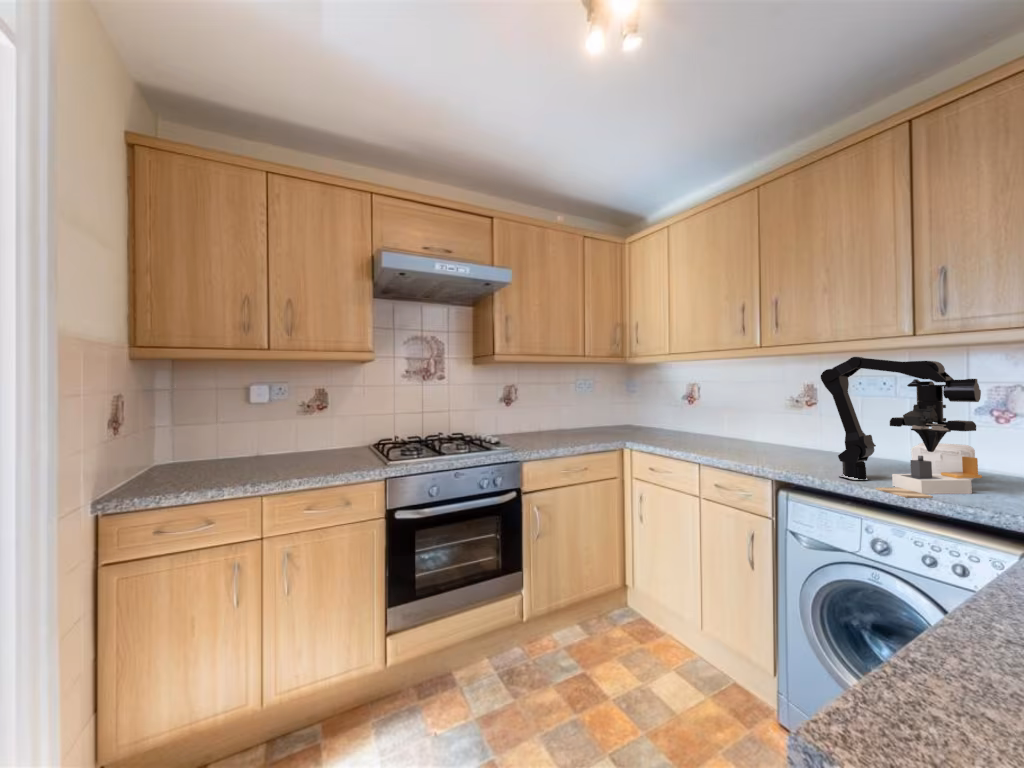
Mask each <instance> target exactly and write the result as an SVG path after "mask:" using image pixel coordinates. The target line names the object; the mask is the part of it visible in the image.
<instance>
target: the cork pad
mask: <svg viewBox="0 0 1024 768" xmlns="http://www.w3.org/2000/svg"><path fill="white" fill-rule="evenodd" d="M875 490H877V491H881V492H885V493H887V494H891V495H894V496H900V497H902V498H905V499H929V498H930V499H933V495H932V494H923V493H919V492H915V491H911V490H907V489H903V488H899V487H893V486H892V487H875Z"/></svg>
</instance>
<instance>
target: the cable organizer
mask: <svg viewBox="0 0 1024 768" xmlns="http://www.w3.org/2000/svg"><path fill="white" fill-rule="evenodd" d="M910 450H911V452H910V453H911V460H918V456H923V460H926V461H931V463H932V474H941V472H963V467H962V457H973V458H976V452H975V448H974V447H973V446H970V445H967V444H954V443H943V442H942V443H940V442H939V443H938V445H937V447H936V448H935V450H934V452H928V451H927V449H926V447H925V445H924V443H923V442H920V443H918V444H917V445H914V446H912V447H911V449H910ZM963 479H968V480H971V481H973V480H975V478H963Z"/></svg>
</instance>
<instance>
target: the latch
mask: <svg viewBox="0 0 1024 768" xmlns="http://www.w3.org/2000/svg"><path fill="white" fill-rule="evenodd" d="M978 460H979V459H978V457H975V458H973V457H962V467H963V472H941V475H944V476H949V477H954V478H974V479H982V478H983V475H982V474H979V464H978V462H979V461H978Z"/></svg>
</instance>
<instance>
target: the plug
mask: <svg viewBox="0 0 1024 768" xmlns="http://www.w3.org/2000/svg"><path fill="white" fill-rule="evenodd" d="M910 474H911V475H901V476H906V477H910V478H915V479H941V478H936V477H932V463H931V461H926V460H923V456H918V460H912V459H910Z"/></svg>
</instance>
